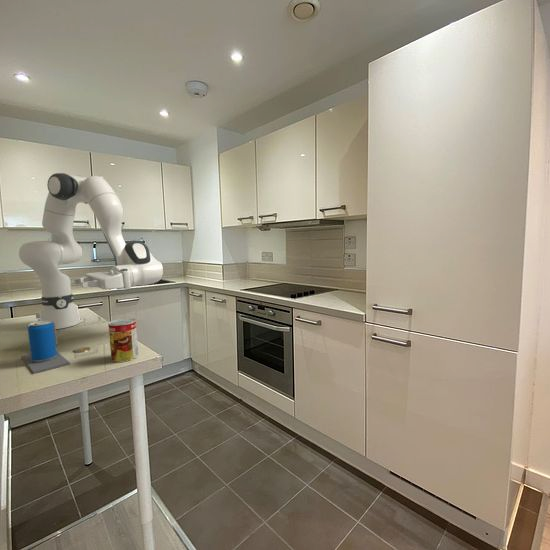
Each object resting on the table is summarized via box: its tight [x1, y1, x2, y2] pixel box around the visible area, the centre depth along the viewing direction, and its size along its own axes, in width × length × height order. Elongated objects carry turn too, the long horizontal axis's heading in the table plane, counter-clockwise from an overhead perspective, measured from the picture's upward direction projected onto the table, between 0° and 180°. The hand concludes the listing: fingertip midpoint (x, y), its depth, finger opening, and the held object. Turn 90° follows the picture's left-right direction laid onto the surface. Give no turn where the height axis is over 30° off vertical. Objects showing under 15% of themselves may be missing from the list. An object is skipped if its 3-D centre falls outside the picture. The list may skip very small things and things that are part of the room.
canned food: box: [108, 318, 139, 363], centre depth 100 cm, size 8×8×12 cm
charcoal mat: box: [21, 350, 71, 374], centre depth 100 cm, size 20×9×1 cm, turn 47°
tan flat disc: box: [72, 346, 91, 354], centre depth 109 cm, size 5×5×1 cm
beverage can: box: [27, 320, 57, 362], centre depth 99 cm, size 6×6×12 cm
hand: (78, 283), depth 106 cm, fingers open, 8 cm apart
